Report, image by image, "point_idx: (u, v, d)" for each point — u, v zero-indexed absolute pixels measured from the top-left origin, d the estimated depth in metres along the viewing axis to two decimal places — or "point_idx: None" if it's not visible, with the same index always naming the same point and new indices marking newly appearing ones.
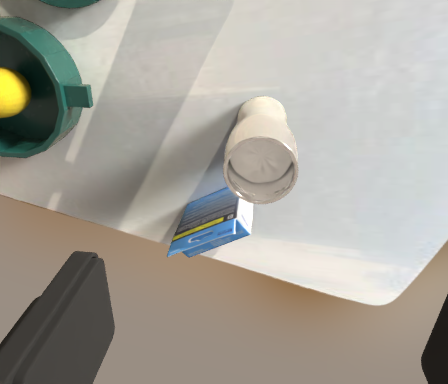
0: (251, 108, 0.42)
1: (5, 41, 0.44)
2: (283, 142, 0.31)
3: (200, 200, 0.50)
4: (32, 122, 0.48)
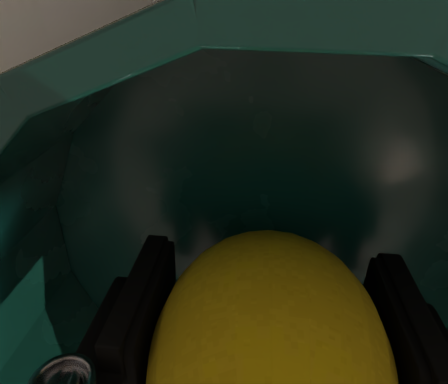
0: None
1: (429, 247, 0.12)
2: None
3: None
4: (127, 248, 0.13)
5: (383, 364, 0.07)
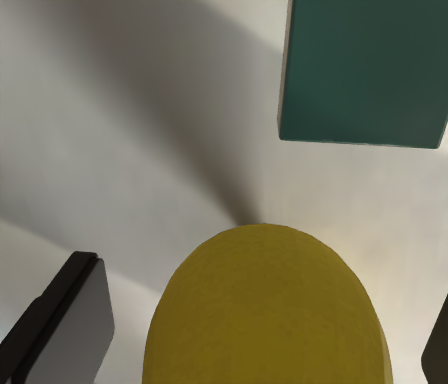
0: None
1: None
2: None
3: None
4: None
5: (376, 353, 0.07)
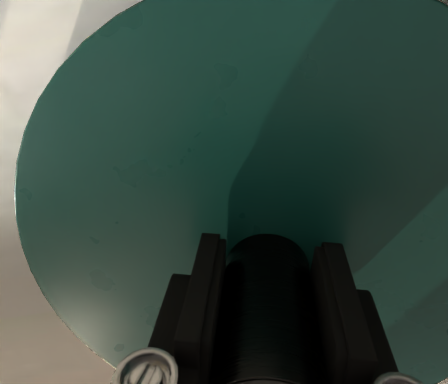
0: None
1: None
2: None
3: None
4: None
5: None
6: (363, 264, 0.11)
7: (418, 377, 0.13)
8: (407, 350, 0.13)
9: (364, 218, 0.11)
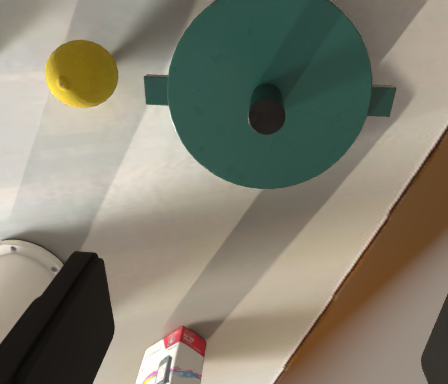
0: None
1: None
2: None
3: None
4: None
5: (100, 101, 0.32)
6: (303, 96, 0.29)
7: (331, 155, 0.32)
8: (324, 140, 0.31)
9: (302, 75, 0.29)
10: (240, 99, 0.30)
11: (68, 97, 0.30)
